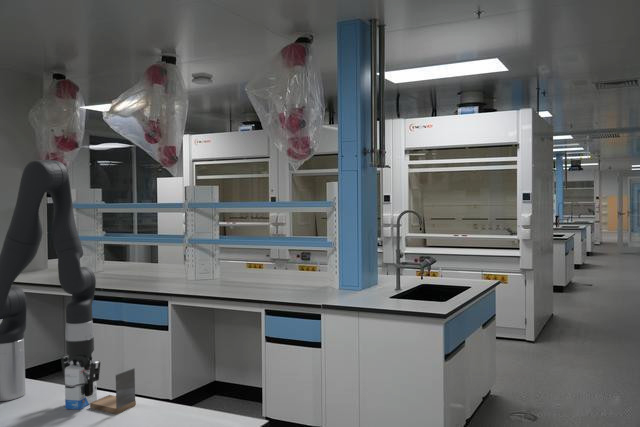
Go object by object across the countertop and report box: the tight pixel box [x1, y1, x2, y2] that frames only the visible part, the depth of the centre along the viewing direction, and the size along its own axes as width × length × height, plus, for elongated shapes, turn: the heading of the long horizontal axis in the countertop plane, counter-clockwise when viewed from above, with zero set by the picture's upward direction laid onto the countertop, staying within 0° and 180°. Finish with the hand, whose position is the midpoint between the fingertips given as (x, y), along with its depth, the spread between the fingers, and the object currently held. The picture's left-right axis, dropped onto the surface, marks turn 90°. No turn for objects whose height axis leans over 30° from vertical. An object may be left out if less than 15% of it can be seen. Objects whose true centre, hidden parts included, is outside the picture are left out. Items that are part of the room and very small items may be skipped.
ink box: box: [64, 365, 98, 410], centre depth 162 cm, size 8×5×12 cm, turn 168°
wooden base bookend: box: [89, 367, 137, 415], centre depth 160 cm, size 11×7×11 cm, turn 63°
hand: (81, 393), depth 162 cm, fingers closed on ink box, 5 cm apart
